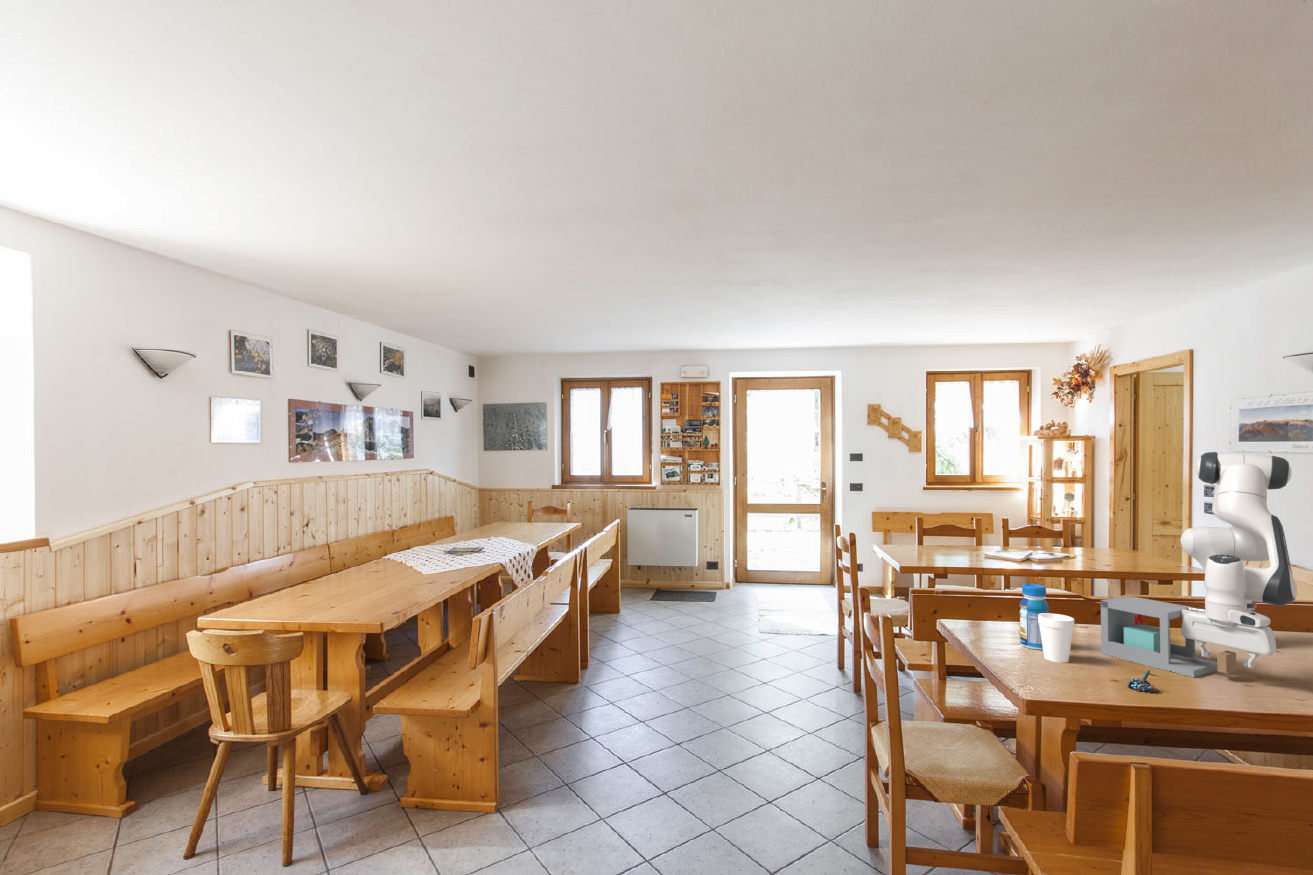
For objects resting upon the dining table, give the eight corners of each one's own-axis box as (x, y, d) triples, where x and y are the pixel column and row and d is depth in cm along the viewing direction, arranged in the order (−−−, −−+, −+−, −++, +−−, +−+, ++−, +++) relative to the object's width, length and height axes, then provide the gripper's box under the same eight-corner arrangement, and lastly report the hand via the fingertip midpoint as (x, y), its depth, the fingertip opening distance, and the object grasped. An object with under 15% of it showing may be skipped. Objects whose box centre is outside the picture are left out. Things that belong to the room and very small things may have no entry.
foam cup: (1071, 657, 194) (1071, 615, 194) (1077, 666, 185) (1077, 622, 186) (1036, 652, 198) (1036, 611, 198) (1040, 661, 189) (1040, 618, 190)
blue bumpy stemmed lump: (1132, 673, 173) (1148, 665, 167) (1157, 696, 169) (1174, 689, 163) (1114, 689, 171) (1130, 682, 164) (1138, 713, 167) (1155, 706, 161)
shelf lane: (1128, 647, 205) (1127, 595, 206) (1220, 669, 184) (1219, 611, 184) (1101, 653, 198) (1100, 600, 198) (1193, 677, 176) (1192, 617, 177)
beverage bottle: (1039, 651, 199) (1039, 589, 200) (1014, 644, 206) (1013, 584, 207) (1055, 648, 203) (1054, 586, 203) (1029, 641, 210) (1029, 582, 211)
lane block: (1140, 645, 199) (1140, 623, 199) (1239, 669, 177) (1238, 644, 178) (1124, 649, 195) (1123, 627, 195) (1223, 674, 173) (1222, 649, 173)
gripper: (1176, 606, 184) (1177, 653, 184) (1268, 622, 166) (1269, 674, 166) (1186, 604, 187) (1187, 650, 187) (1278, 620, 169) (1279, 671, 169)
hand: (1226, 662), depth 176 cm, fingers open, 8 cm apart
